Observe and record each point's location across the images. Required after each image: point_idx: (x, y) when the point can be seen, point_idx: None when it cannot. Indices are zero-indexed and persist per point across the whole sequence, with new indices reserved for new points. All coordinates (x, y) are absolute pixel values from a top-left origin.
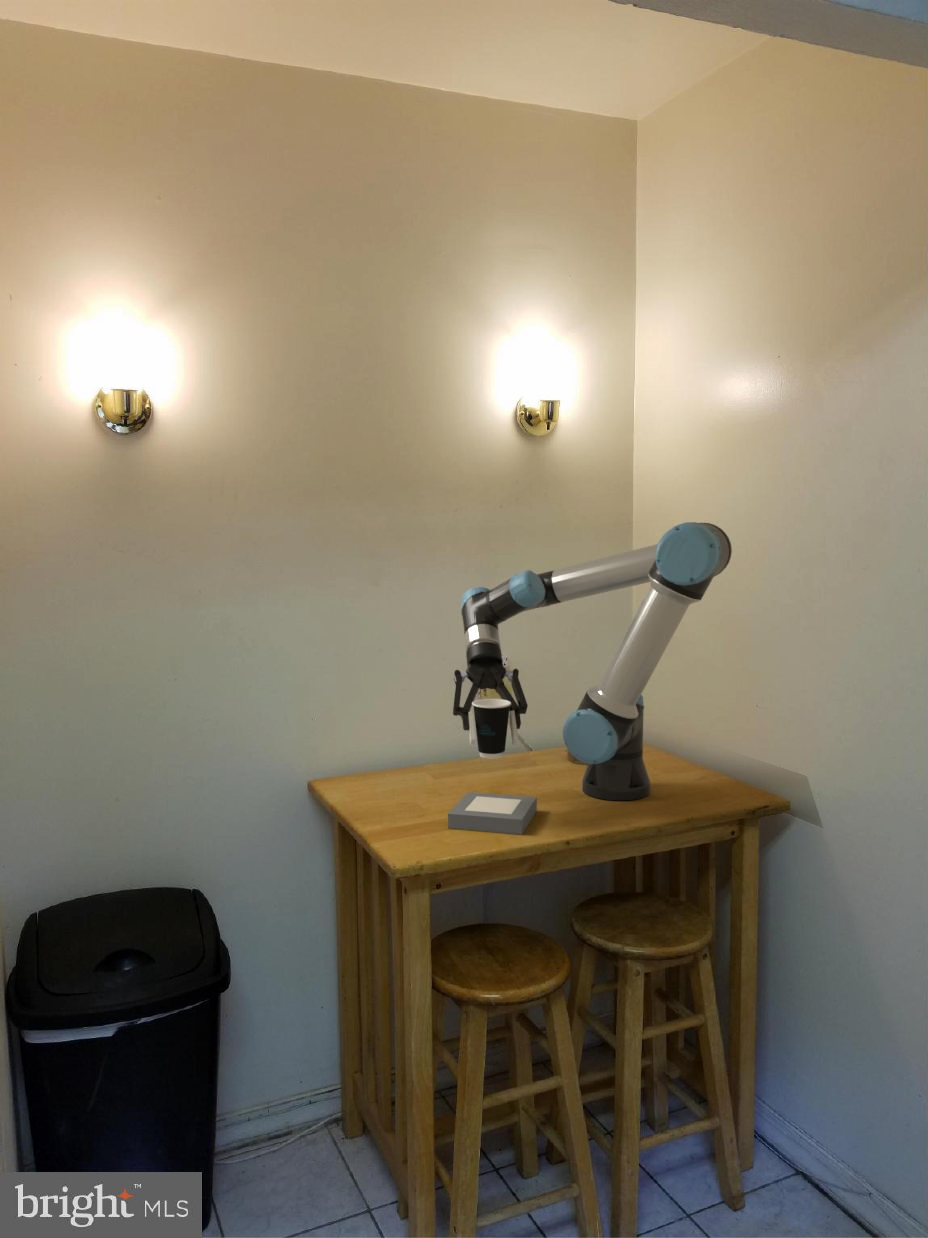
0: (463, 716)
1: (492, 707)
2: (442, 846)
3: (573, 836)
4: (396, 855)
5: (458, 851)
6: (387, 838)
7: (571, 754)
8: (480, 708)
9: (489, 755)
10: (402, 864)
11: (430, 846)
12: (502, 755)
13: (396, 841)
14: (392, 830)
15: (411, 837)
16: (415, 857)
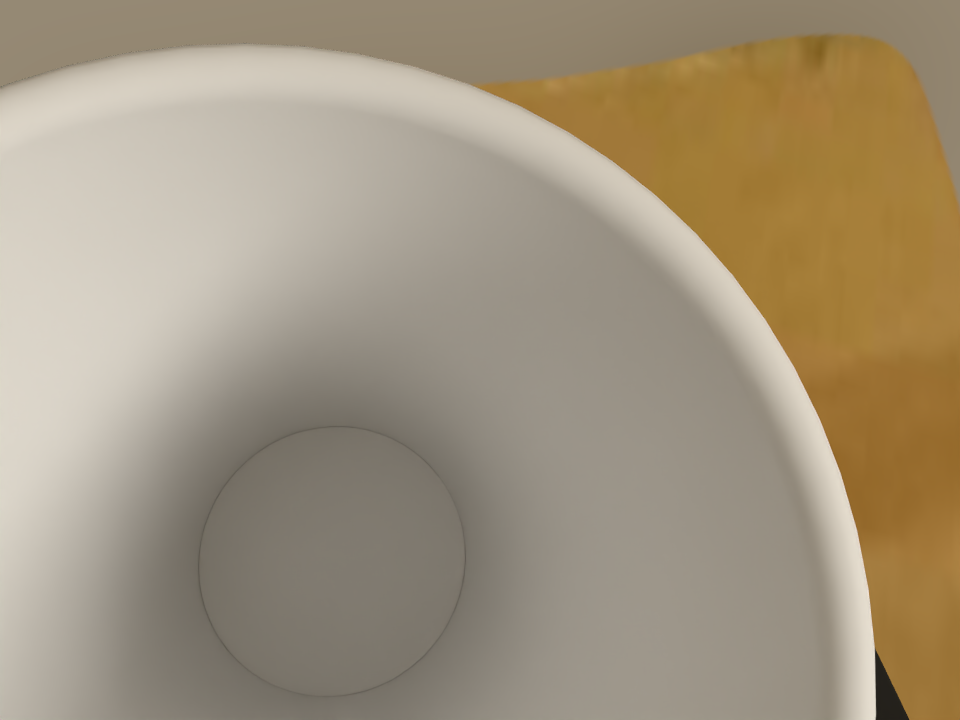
0: (879, 685)
1: (405, 73)
2: (692, 200)
3: None
4: (899, 153)
5: (631, 119)
6: (928, 376)
7: None
8: (674, 310)
9: (393, 437)
10: (881, 50)
11: (745, 215)
12: (234, 477)
13: (889, 323)
14: (900, 486)
15: (818, 358)
16: (823, 107)
